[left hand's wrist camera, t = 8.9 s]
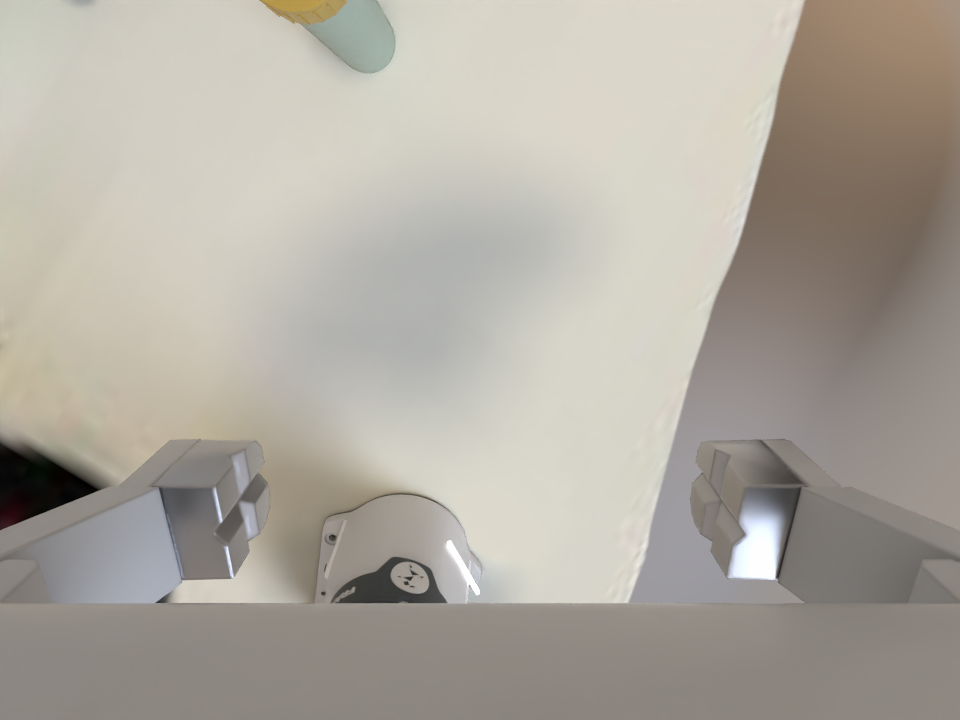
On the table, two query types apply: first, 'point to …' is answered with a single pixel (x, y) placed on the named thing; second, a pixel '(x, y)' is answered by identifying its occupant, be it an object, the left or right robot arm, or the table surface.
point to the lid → (305, 9)
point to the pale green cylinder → (358, 35)
